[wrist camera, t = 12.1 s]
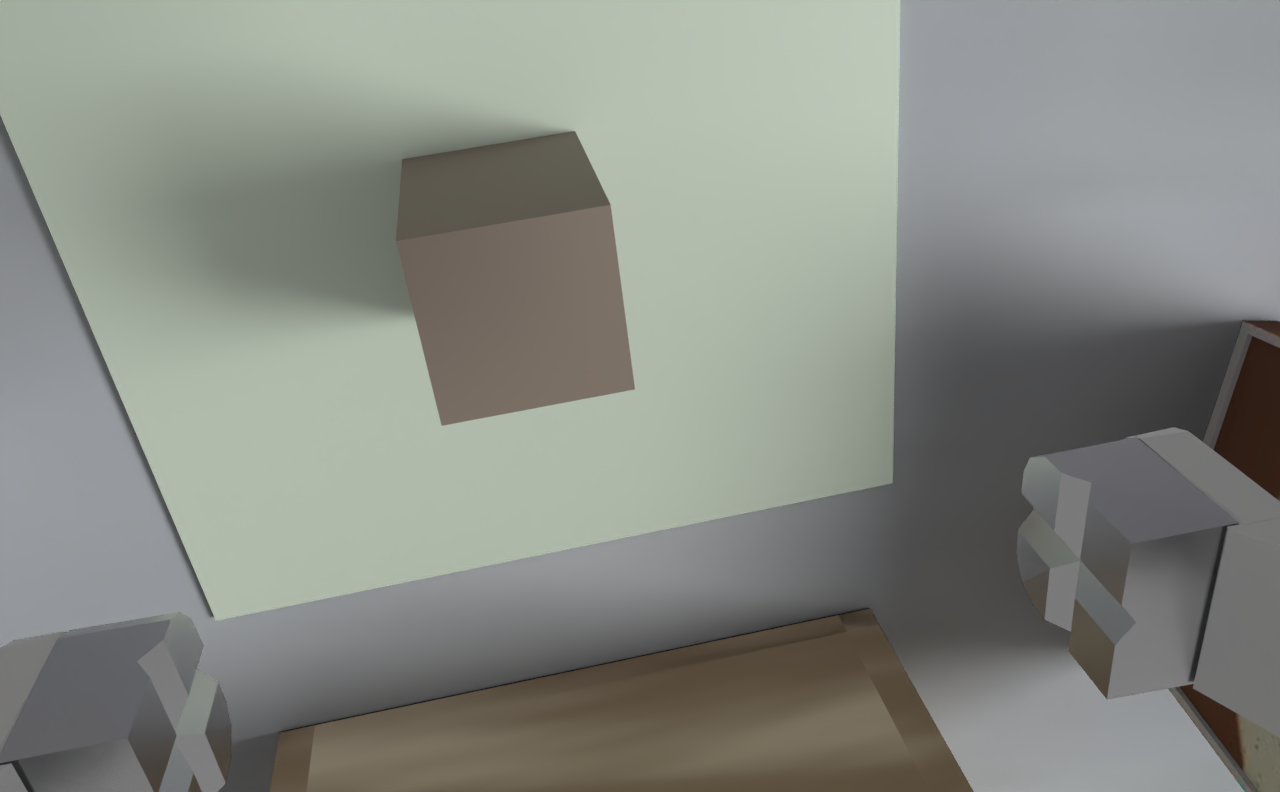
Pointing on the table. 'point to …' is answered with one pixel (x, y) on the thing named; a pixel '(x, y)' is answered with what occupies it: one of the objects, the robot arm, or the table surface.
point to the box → (656, 726)
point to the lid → (470, 265)
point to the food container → (1275, 460)
